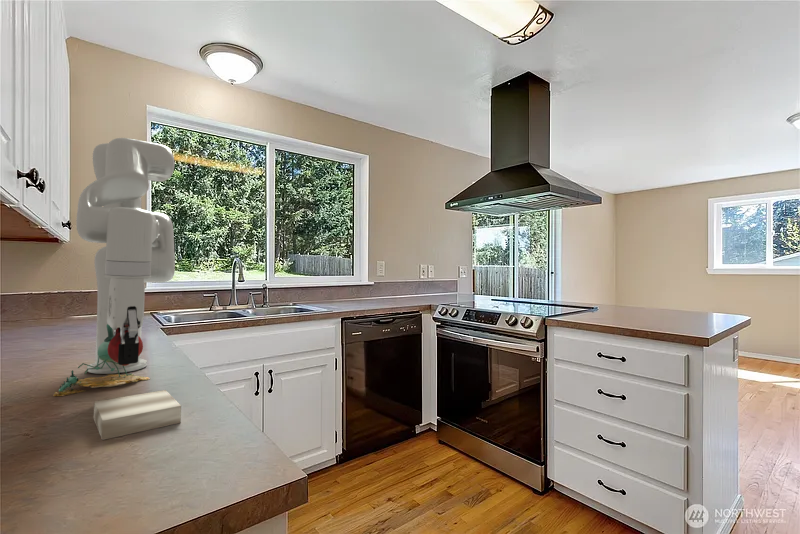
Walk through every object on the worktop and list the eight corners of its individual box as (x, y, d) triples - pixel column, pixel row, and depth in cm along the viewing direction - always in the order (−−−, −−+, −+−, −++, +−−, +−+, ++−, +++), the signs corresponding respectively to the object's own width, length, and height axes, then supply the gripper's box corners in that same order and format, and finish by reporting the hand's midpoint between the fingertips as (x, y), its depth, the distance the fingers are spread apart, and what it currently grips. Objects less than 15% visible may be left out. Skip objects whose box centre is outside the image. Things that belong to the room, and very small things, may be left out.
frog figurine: (46, 389, 84) (58, 320, 85) (143, 383, 97) (152, 322, 99) (52, 400, 78) (66, 324, 79) (155, 391, 91) (165, 327, 92)
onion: (123, 371, 76) (125, 330, 76) (99, 368, 77) (100, 327, 77) (148, 363, 82) (150, 325, 81) (125, 360, 83) (127, 322, 82)
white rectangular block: (93, 418, 69) (94, 401, 69) (164, 405, 77) (165, 389, 77) (102, 440, 61) (102, 420, 61) (180, 422, 69) (181, 405, 69)
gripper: (99, 267, 82) (96, 352, 83) (112, 273, 70) (108, 373, 70) (141, 267, 88) (138, 348, 88) (160, 273, 75) (156, 367, 76)
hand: (125, 358), depth 79 cm, fingers closed on onion, 5 cm apart
